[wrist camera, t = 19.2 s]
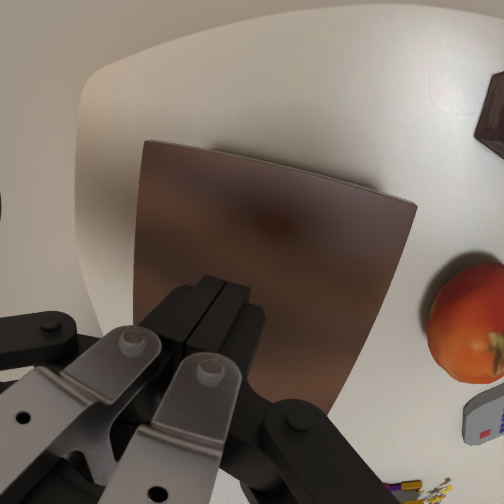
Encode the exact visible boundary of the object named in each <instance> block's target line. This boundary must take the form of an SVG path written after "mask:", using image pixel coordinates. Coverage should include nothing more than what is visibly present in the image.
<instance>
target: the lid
mask: <svg viewBox="0 0 504 504" xmlns="http://www.w3.org/2000/svg"><path fill="white" fill-rule="evenodd" d="M416 211H417V205H416V204H415V203H413V202H411V201H408V200H405V199H402V198H399V197H396V196H393V195H389V194H386V193H383V192H380V191H377V190H373V189H370V188H367V187H363V186H360V185H356V184H353V183H349V182H346V181H342V180H339V179H335V178H331V177H328V176H324V175H320V174H316V173H312V172H309V171H305V170H301V169H297V168H293V167H288V166H284V165H280V164H276V163H271V162H267V161H263V160H258V159H253V158H249V157H244V156H239V155H235V154H230V153H225V152H219V151H214V150H209V149H204V148H198V147H192V146H187V145H181V144H175V143H169V142H162V141H156V140H148V141H144V147H143V155H142V163H141V172H140V181H139V192H138V203H137V216H136V230H135V249H134V277H133V326H137V325H138V324H139V323H140V322H141V321H142V320H143V319H144V318H145V317H146V316H147V315H148V314H149V313H150V312H151V311H152V310H153V309H154V308H155V307H156V306H157V305H159V303H160V302H161V301H162V300H163V299H165V297H166V296H167V295H168V294H169V293H170V292H171V291H172V290H173V289H175V288H177V287H180V286H182V285H185V284H187V285H190V286H193V287H194V286H195V285H196V284H197V283H198V282H199V281H200V280H201V279H202V277H203V276H204V275H209V276H212V277H216V278H219V279H222V280H226V281H228V282H233V283H236V284H240V285H243V286H247V287H250V288H251V293H250V298H249V302H248V303H250V304H253V305H257V306H260V307H263V310H264V313H265V316H266V320H265V323H264V327H263V331H262V334H261V338H260V342H259V345H258V349H257V352H256V356H255V359H254V361H253V364H252V367H251V370H250V373H249V375H248V378H247V380H248V382H249V384H250V386H251V387H252V389H253V390H254V391H255V392H256V393H257V394H259V395H260V396H261V397H263V398H264V399H266V400H268V401H270V402H272V403H275V402H277V401H280V400H284V399H299V400H303V401H307V402H309V403H311V404H313V405H315V406H317V407H318V408H319V409H321V410H322V411H323V412H324V413H325V415H326V416H327V415H328V413H329V411H330V409H331V408H332V406H333V404H334V402H335V401H336V399H337V397H338V395H339V393H340V391H341V389H342V388H343V386H344V384H345V382H346V380H347V378H348V376H349V374H350V372H351V370H352V368H353V366H354V364H355V362H356V360H357V358H358V356H359V354H360V352H361V350H362V348H363V346H364V344H365V341H366V339H367V337H368V335H369V333H370V331H371V328H372V326H373V324H374V322H375V320H376V317H377V315H378V313H379V310H380V308H381V306H382V303H383V301H384V298H385V296H386V294H387V291H388V289H389V286H390V284H391V281H392V279H393V276H394V274H395V271H396V268H397V266H398V263H399V260H400V258H401V255H402V252H403V249H404V247H405V244H406V241H407V238H408V235H409V232H410V229H411V226H412V223H413V220H414V217H415V214H416Z"/></svg>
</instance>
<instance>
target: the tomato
mask: <svg viewBox="0 0 504 504" xmlns="http://www.w3.org/2000/svg"><path fill="white" fill-rule="evenodd" d="M426 331H427V338H428V346H429V349H430V352H431V354H432V356H433V358H434V360H435V361H436V363H437V364H438V365H439V366H441V367H442V368H443V369H444V370H445V371H446V372H447V373H448V374H449V375H450V376H451V377H452V378H454V379H456V380H458V381H459V382H464V383H470V384H489V383H492V382H494V381H496V380H498V379H500V378H501V377H503V376H504V265H502V264H499V263H492V262H483V263H481V264H479V265H475V266H471V267H469V268H466V269H464V270H462V271H461V272H459V273H458V274H457V275H456V276H455V277H454V278H453V279H451V280H450V281H449V282H448V283H446V284H445V285H444V286H443V287H442V288H441V289H440V291H439V292H438V294H437V296H436V298H435V300H434V303H433V305H432V307H431V310H430V317H429V320H428V324H427V330H426Z"/></svg>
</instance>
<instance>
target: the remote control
mask: <svg viewBox="0 0 504 504" xmlns="http://www.w3.org/2000/svg"><path fill="white" fill-rule="evenodd" d="M503 434H504V384H501V385H499V386H497V387H494V388H492V389H490V390H487V391H485V392H483V393H480V394H478V395H477V396H476V397H475V398H473V399H472V400H471V401H470V402H469V403H468V405H467V406H466V407H465V409H464V419H463V434H462V436H463V440H464V443H466V444H468V445H470V446H471V445H480V444H482V443H485V442H487V441H490V440H492V439H494V438H497V437H499V436H501V435H503Z"/></svg>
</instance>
